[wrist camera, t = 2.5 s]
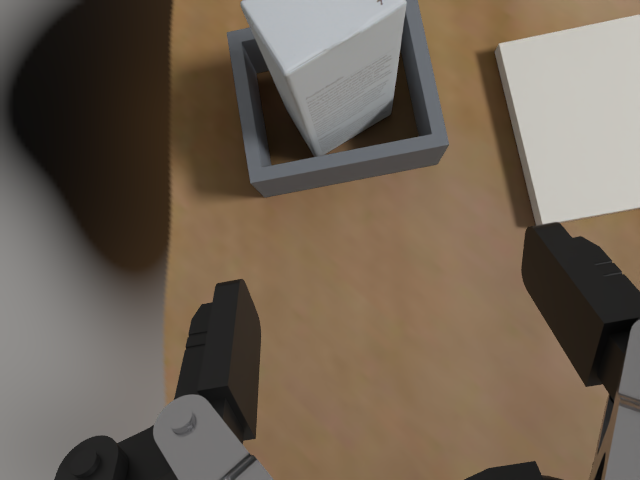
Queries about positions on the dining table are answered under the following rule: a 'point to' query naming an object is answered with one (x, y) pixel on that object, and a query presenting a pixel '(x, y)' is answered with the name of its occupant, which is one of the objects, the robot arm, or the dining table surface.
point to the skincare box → (330, 62)
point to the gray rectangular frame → (348, 162)
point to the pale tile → (577, 118)
